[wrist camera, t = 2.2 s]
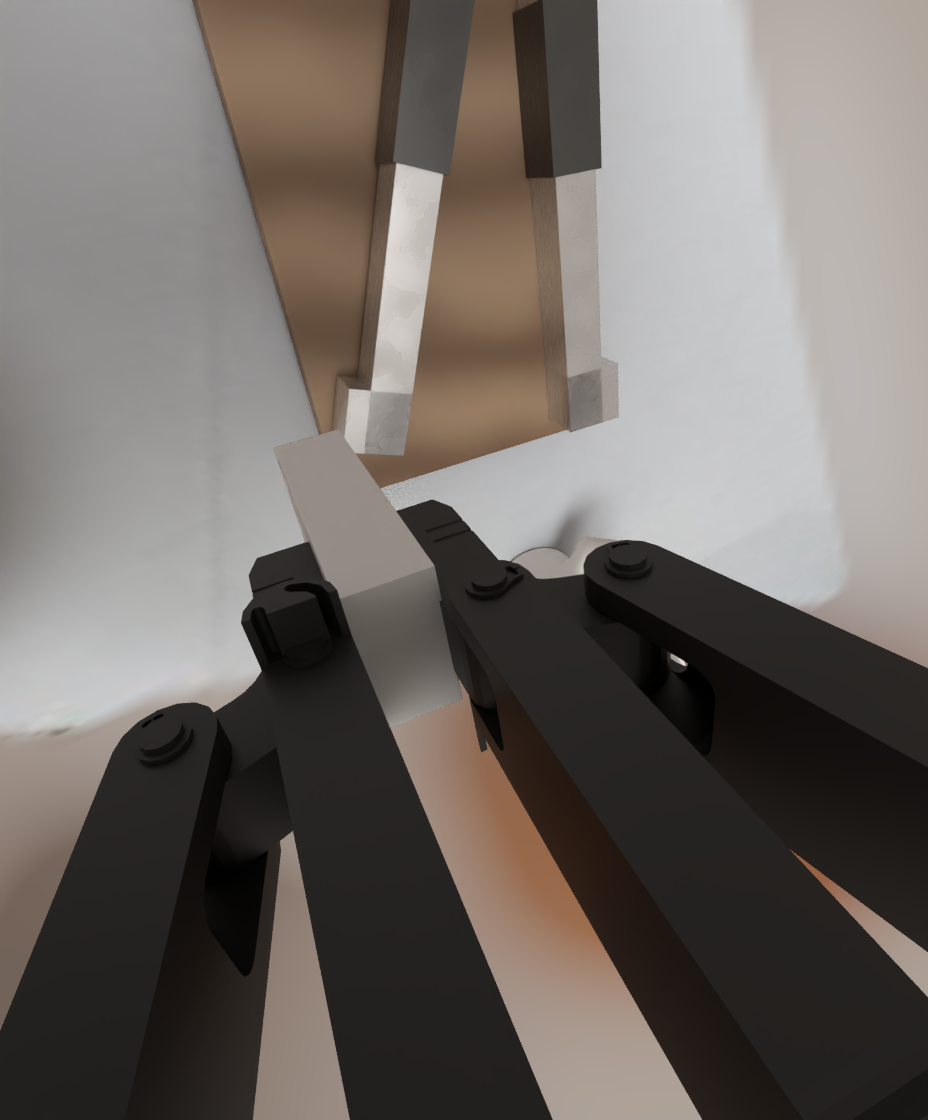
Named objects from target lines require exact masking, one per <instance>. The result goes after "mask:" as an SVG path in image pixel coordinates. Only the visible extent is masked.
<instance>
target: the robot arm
mask: <svg viewBox="0 0 928 1120" xmlns="http://www.w3.org/2000/svg"><path fill="white" fill-rule="evenodd" d="M274 451H275V454H276V457H277V460H278V463H279V466H280V469H281V472H282V475H283V478H284V481H285V484H286V487H287V489H288V492H289V495H290V498H291V501H292V504H293V507H294V510H295V513H296V516H297V519H298V522H299V525H300V528H301V531H302V534H303V537H304V540H305V543H303V544H300V545H296V546H293V547H290V548H287V549H284V550H281V551H278V552H275V553H272V554H269V555H266V556H262V557H259V558H257V559H256V561H255V563H254V565H253V568H252V570H251V572H250V574H249V579H250V584H251V589H252V593H253V599H252V600H251V602H250V603H249V604H248V606H247V607H246V608H245V610H244V611H243V615H242V620H241V624H242V626H243V628H244V631H245V633H246V635H247V638H248V640H249V642H250V644H251V647H252V649H253V651H254V653H255V656H256V658H257V660H258V663H259V665H260V667H261V670H262V672H261V673H260V675H259V676H258V678H257V679H256V681H255V682H254V683H253V684H252V685H251V686H250V687H249V688H248V689H247V690H246V691H245V692H244V693H243V694H241V695H240V696H239V697H237V698H236V699H234V700H233V701H232V702H230V703H228V704H227V705H225V706H223V707H222V708H220V709H219V710H217V711H216V712H213V711H212V710H211V709H210V708H209V707H208V706H205V705H201V704H198V703H181V704H175V705H172V706H169V707H166V708H163V709H160V710H157V711H156V712H154V713H152V714H151V715H149V716H147V717H146V718H144V719H142V720H141V721H139V722H138V723H137V724H136V725H134V726H133V727H132V728H131V729H130V730H129V731H128V732H127V733H126V734H125V735H124V736H123V737H122V738H121V740H120V741H119V743H118V745H117V746H116V748H115V750H114V751H113V753H112V755H111V758H110V760H109V763H108V765H107V768H106V770H105V773H104V775H103V778H102V780H101V783H100V785H99V787H98V790H97V793H96V795H95V797H94V800H93V802H92V805H91V807H90V810H89V812H88V815H87V817H86V820H85V822H84V825H83V827H82V830H81V832H80V835H79V837H78V839H77V842H76V845H75V847H74V850H73V852H72V854H71V857H70V859H69V862H68V864H67V867H66V869H65V872H64V874H63V877H62V879H61V882H60V884H59V887H58V889H57V892H56V894H55V897H54V899H53V901H52V904H51V906H50V909H49V911H48V914H47V916H46V919H45V921H44V924H43V926H42V929H41V932H40V934H39V936H38V939H37V941H36V944H35V946H34V948H33V951H32V954H31V956H30V958H29V961H28V963H27V966H26V968H25V971H24V974H23V976H22V978H21V981H20V983H19V986H18V988H17V991H16V993H15V996H14V998H13V1001H12V1003H11V1006H10V1008H9V1010H8V1013H7V1015H6V1018H5V1020H4V1023H3V1025H2V1028H1V1030H0V1120H253V1111H254V1103H255V1093H256V1084H257V1074H258V1065H259V1055H260V1046H261V1036H262V1025H263V1017H264V1007H265V998H266V988H267V979H268V969H269V960H270V950H271V941H272V931H273V922H274V912H275V903H276V893H277V883H278V873H279V864H280V854H281V847H280V840H282V839H283V838H284V837H285V836H287V835H288V834H289V833H291V832H292V831H293V833H294V837H295V843H296V848H297V853H298V858H299V863H300V868H301V873H302V878H303V884H304V888H305V894H306V899H307V904H308V909H309V914H310V919H311V924H312V929H313V934H314V939H315V945H316V950H317V955H318V960H319V965H320V970H321V975H322V980H323V985H324V990H325V995H326V1000H327V1005H328V1010H329V1016H330V1021H331V1026H332V1031H333V1036H334V1040H335V1046H336V1051H337V1056H338V1061H339V1066H340V1071H341V1076H342V1082H343V1087H344V1092H345V1097H346V1102H347V1107H348V1112H349V1117H350V1120H552V1117H551V1115H550V1112H549V1110H548V1108H547V1105H546V1103H545V1100H544V1098H543V1095H542V1093H541V1090H540V1088H539V1086H538V1083H537V1081H536V1078H535V1076H534V1074H533V1071H532V1069H531V1066H530V1064H529V1062H528V1059H527V1057H526V1054H525V1052H524V1049H523V1047H522V1045H521V1042H520V1040H519V1038H518V1035H517V1033H516V1030H515V1028H514V1025H513V1023H512V1021H511V1018H510V1016H509V1013H508V1011H507V1008H506V1006H505V1004H504V1001H503V999H502V997H501V994H500V992H499V989H498V987H497V984H496V982H495V980H494V977H493V975H492V972H491V970H490V967H489V965H488V963H487V960H486V958H485V955H484V953H483V951H482V948H481V946H480V943H479V941H478V939H477V936H476V934H475V931H474V929H473V927H472V924H471V922H470V919H469V917H468V914H467V912H466V910H465V907H464V905H463V902H462V900H461V898H460V895H459V893H458V890H457V888H456V885H455V883H454V881H453V878H452V876H451V873H450V871H449V869H448V866H447V864H446V861H445V859H444V857H443V854H442V852H441V849H440V847H439V844H438V842H437V840H436V837H435V835H434V832H433V830H432V828H431V825H430V823H429V820H428V818H427V816H426V813H425V811H424V808H423V806H422V803H421V802H420V799H419V796H418V794H417V792H416V789H415V787H414V784H413V782H412V779H411V777H410V775H409V772H408V770H407V767H406V765H405V763H404V760H403V758H402V755H401V753H400V750H399V748H398V746H397V743H396V741H395V739H394V736H393V734H392V731H391V729H390V728H392V727H395V726H397V725H400V724H402V723H405V722H407V721H410V720H412V719H414V718H417V717H419V716H422V715H424V714H427V713H429V712H432V711H434V710H436V709H439V708H442V707H444V706H447V705H449V704H452V703H454V702H456V701H459V700H461V699H463V697H462V692H461V688H460V683H459V679H460V681H461V683H462V684H463V686H464V688H465V689H466V691H467V693H468V694H469V698H470V703H471V707H472V713H473V717H474V722H475V727H476V732H477V737H478V741H479V745H480V749H481V752H482V751H485V750H487V745H486V741H487V743H488V744H489V746H490V748H491V750H492V752H493V753H494V755H495V757H496V759H497V760H498V762H499V764H500V765H501V767H502V769H503V771H504V772H505V774H506V776H507V778H508V780H509V781H510V783H511V785H512V787H513V788H514V790H515V792H516V794H517V795H518V797H519V799H520V801H521V802H522V804H523V806H524V808H525V809H526V811H527V813H528V814H529V816H530V818H531V820H532V822H533V823H534V825H535V827H536V829H537V831H538V832H539V834H540V836H541V837H542V839H543V841H544V843H545V844H546V846H547V848H548V850H549V851H550V853H551V855H552V857H553V859H554V860H555V862H556V864H557V866H558V867H559V869H560V871H561V873H562V874H563V876H564V878H565V880H566V881H567V883H568V885H569V887H570V888H571V890H572V892H573V894H574V895H575V897H576V899H577V901H578V902H579V904H580V906H581V908H582V909H583V911H584V913H585V915H586V916H587V918H588V920H589V922H590V923H591V925H592V927H593V929H594V931H595V932H596V934H597V936H598V938H599V939H600V941H601V943H602V944H603V946H604V948H605V950H606V951H607V953H608V955H609V957H610V959H611V960H612V962H613V964H614V966H615V967H616V969H617V971H618V973H619V974H620V976H621V978H622V980H623V981H624V983H625V985H626V987H627V988H628V990H629V992H630V994H631V995H632V997H633V999H634V1001H635V1002H636V1004H637V1006H638V1008H639V1009H640V1011H641V1013H642V1015H643V1016H644V1018H645V1020H646V1021H647V1024H648V1025H649V1027H650V1029H651V1030H652V1032H653V1034H654V1036H655V1037H656V1039H657V1041H658V1043H659V1044H660V1046H661V1048H662V1050H663V1052H664V1053H665V1055H666V1057H667V1059H668V1060H669V1062H670V1064H671V1065H672V1067H673V1069H674V1071H675V1073H676V1074H677V1076H678V1078H679V1080H680V1081H681V1083H682V1085H683V1087H684V1088H685V1090H686V1092H687V1094H688V1095H689V1097H690V1099H691V1101H692V1102H693V1104H694V1106H695V1108H696V1109H697V1111H698V1113H699V1115H700V1116H701V1118H702V1120H928V997H927V996H926V995H925V994H924V993H923V992H922V991H921V989H920V988H919V987H918V986H917V985H916V984H915V983H914V982H913V981H912V980H911V979H910V978H909V977H908V976H907V975H906V973H905V972H904V971H903V970H902V969H901V968H900V967H899V966H898V965H897V964H896V963H895V962H894V961H893V960H892V958H890V956H889V955H888V954H887V953H886V952H885V951H884V950H883V949H882V948H881V947H880V946H879V945H878V943H876V941H875V940H874V939H873V938H872V937H871V936H870V935H869V934H868V933H867V932H866V931H865V930H864V929H863V927H862V926H861V925H860V924H859V923H858V922H857V921H856V920H855V919H854V918H853V917H852V916H851V915H850V914H849V913H848V911H847V910H846V909H845V908H844V907H843V906H842V905H841V904H840V903H839V902H838V901H837V900H836V899H835V897H834V896H833V895H832V894H831V893H830V892H829V891H828V890H827V889H826V888H825V887H824V886H823V885H822V884H821V883H820V882H819V880H818V879H817V878H816V877H815V876H814V875H813V874H812V873H811V872H810V871H809V870H808V869H807V868H806V867H805V865H804V864H803V863H802V862H801V861H800V860H799V859H798V858H797V857H796V856H795V855H794V854H793V853H792V851H793V852H794V853H796V854H797V855H798V856H800V857H801V858H802V859H804V860H805V861H806V862H808V863H809V864H811V865H812V866H813V867H814V868H816V869H817V870H818V871H820V872H821V873H822V874H824V875H825V876H826V877H828V878H829V879H830V880H832V881H833V882H835V883H836V884H837V885H839V886H840V887H841V888H843V889H844V890H845V891H847V892H848V893H849V894H851V895H852V896H853V897H855V898H856V899H857V900H859V901H860V902H861V903H863V904H864V905H865V906H867V907H868V908H869V909H871V910H872V911H873V912H875V913H876V914H877V915H879V916H880V917H881V918H883V919H884V920H885V921H887V922H888V923H889V924H891V925H892V926H894V927H895V928H896V929H897V930H899V931H900V932H901V933H903V934H904V935H906V936H907V937H908V938H910V939H911V940H912V941H914V942H915V943H916V944H918V945H919V946H920V947H922V948H923V949H924V950H926V951H927V952H928V668H926V667H924V666H922V665H919V664H917V663H915V662H913V661H911V660H908V659H906V658H904V657H902V656H900V655H897V654H895V653H893V652H891V651H889V650H886V649H884V648H882V647H880V646H878V645H875V644H873V643H871V642H869V641H866V640H864V639H862V638H860V637H858V636H856V635H853V634H851V633H849V632H847V631H845V630H842V629H840V628H838V627H835V626H834V625H831V624H829V623H827V622H825V621H822V620H820V619H818V618H816V617H814V616H812V615H809V614H807V613H805V612H803V611H801V610H798V609H796V608H794V607H792V606H790V605H787V604H785V603H783V602H781V601H778V600H776V599H774V598H772V597H770V596H767V595H765V594H763V593H761V592H759V591H756V590H754V589H752V588H750V587H748V586H745V585H743V584H741V583H739V582H737V581H734V580H732V579H730V578H728V577H726V576H723V575H721V574H719V573H717V572H715V571H712V570H710V569H708V568H706V567H704V566H701V565H699V564H697V563H695V562H693V561H690V560H688V559H686V558H684V557H682V556H679V555H677V554H675V553H673V552H671V551H668V550H666V549H664V548H662V547H660V546H657V545H654V544H650V543H647V542H644V541H632V540H622V541H616V542H610V543H607V544H605V545H602V546H600V547H597V548H595V549H594V550H593V551H592V552H591V553H589V554H588V555H587V556H586V559H585V562H584V564H583V569H584V574H581V575H574V576H567V577H560V578H549V579H538V578H535V577H534V575H533V574H532V573H531V572H530V571H529V570H527V569H526V568H524V567H523V566H521V565H520V564H518V563H514V562H510V561H506V560H498V559H497V558H496V557H495V556H494V554H493V553H492V552H491V551H490V550H489V549H488V548H487V547H486V545H485V544H484V543H483V542H482V541H481V540H480V539H479V537H478V536H477V535H476V534H475V533H474V532H473V531H471V529H470V527H469V526H468V525H467V524H466V523H465V522H464V521H462V518H461V517H460V516H459V515H458V514H457V513H456V512H455V510H454V509H453V508H452V507H451V506H448V505H445V504H443V503H440V502H438V501H435V500H429V501H426V502H423V503H420V504H417V505H414V506H411V507H408V508H405V509H402V510H398V511H396V510H395V509H394V508H393V506H392V505H391V503H390V502H389V500H388V499H387V498H386V496H385V495H384V493H383V492H382V491H381V489H380V488H379V486H378V485H377V483H376V482H375V481H374V479H373V478H372V476H371V475H370V473H369V472H368V471H367V469H366V468H365V466H364V465H363V463H362V462H361V461H360V459H359V458H358V456H357V455H356V454H355V452H354V451H353V449H352V448H351V446H350V445H349V444H348V442H347V441H346V439H345V438H344V436H343V435H342V434H341V432H340V431H339V429H338V430H334V431H331V432H327V433H324V434H320V435H317V436H313V437H310V438H306V439H303V440H299V441H296V442H292V443H289V444H285V445H282V446H278V447H275V448H274ZM671 654H673V655H675V656H676V657H678V658H680V659H681V660H683V661H685V662H686V663H688V666H684V665H682V664H679V663H677V662H676V661H674V660H672V659H671ZM485 739H486V740H485ZM790 850H792V851H790Z"/></svg>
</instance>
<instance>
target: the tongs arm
mask: <svg viewBox="0 0 928 1120" xmlns="http://www.w3.org/2000/svg"><path fill="white" fill-rule="evenodd" d="M474 2H475V0H391V6H390V16H389V26H388V36H387V46H386V56H385V66H384V77H383V87H382V97H381V107H380V117H379V127H378V137H377V147H376V157H375V164H379V174H378V184H377V193H376V203H375V213H374V223H373V233H372V243H371V252H370V262H369V272H368V282H367V292H366V301H365V311H364V321H363V331H362V341H361V351H360V360H359V370H358V377H348V376H337V385H336V397H335V408H334V419H333V431H334V430H338V429H339V431H340V432H341V434H342V435H343V436H344V438H345V439H346V441H347V442H348V444H349V445H350V446H351V448H352V449H353V451H354V452H355V453H361V454H382V455H404V451H405V444H406V437H407V430H408V423H409V415H410V408H411V401H412V394H413V387H414V380H415V373H416V365H417V358H418V351H419V344H420V337H421V330H422V323H423V316H424V308H425V301H426V294H427V287H428V280H429V273H430V266H431V258H432V251H433V244H434V237H435V230H436V223H437V216H438V209H439V201H440V194H441V187H442V180H443V176H446V175H450V169H451V162H452V155H453V148H454V141H455V134H456V127H457V120H458V113H459V106H460V99H461V93H462V86H463V79H464V72H465V65H466V58H467V51H468V44H469V37H470V30H471V23H472V16H473V9H474Z"/></svg>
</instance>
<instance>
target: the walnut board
mask: <svg viewBox="0 0 928 1120" xmlns="http://www.w3.org/2000/svg"><path fill="white" fill-rule="evenodd" d="M193 3H194V7H195V10H196V14H197V17H198V21H199V24H200V27H201V31H202V34H203V38H204V41H205V45H206V48H207V51H208V55H209V58H210V62H211V65H212V69H213V72H214V75H215V79H216V82H217V86H218V89H219V92H220V96H221V99H222V103H223V106H224V110H225V113H226V116H227V120H228V123H229V127H230V130H231V134H232V137H233V140H234V144H235V147H236V151H237V154H238V158H239V161H240V164H241V168H242V171H243V175H244V178H245V181H246V185H247V188H248V192H249V195H250V199H251V202H252V205H253V209H254V212H255V216H256V219H257V223H258V226H259V229H260V233H261V236H262V240H263V243H264V247H265V250H266V253H267V257H268V260H269V264H270V267H271V270H272V274H273V277H274V281H275V284H276V288H277V291H278V294H279V298H280V301H281V305H282V308H283V312H284V315H285V318H286V322H287V325H288V329H289V332H290V336H291V339H292V342H293V346H294V349H295V353H296V356H297V359H298V363H299V366H300V370H301V373H302V377H303V380H304V383H305V387H306V390H307V394H308V397H309V401H310V404H311V407H312V411H313V414H314V418H315V421H316V425H317V428H318V431H319V435H320V434H324V433H327V432H331V431H333V419H334V408H335V397H336V385H337V376H348V377H358V370H359V360H360V351H361V341H362V331H363V321H364V311H365V301H366V292H367V282H368V272H369V262H370V252H371V243H372V233H373V223H374V213H375V203H376V193H377V184H378V174H379V164H375V157H376V147H377V137H378V127H379V117H380V107H381V97H382V87H383V77H384V66H385V56H386V46H387V36H388V26H389V16H390V6H391V0H193ZM515 11H516V1H515V0H475V2H474V9H473V16H472V23H471V30H470V37H469V44H468V51H467V58H466V65H465V72H464V79H463V86H462V93H461V99H460V106H459V113H458V120H457V127H456V134H455V141H454V148H453V155H452V162H451V169H450V175H446V176H443V180H442V187H441V194H440V201H439V209H438V216H437V223H436V230H435V237H434V244H433V251H432V258H431V266H430V273H429V280H428V287H427V294H426V301H425V308H424V316H423V323H422V330H421V337H420V344H419V351H418V358H417V365H416V373H415V380H414V387H413V394H412V401H411V408H410V415H409V423H408V430H407V437H406V444H405V451H404V455H382V454H361V453H355V454H356V455H357V456H358V458H359V459H360V461H361V462H362V463H363V465H364V466H365V468H366V469H367V471H368V472H369V473H370V475H371V476H372V478H373V479H374V481H375V482H376V483H377V485H378V486H379V488H382V487H385V486H388V485H392V484H395V483H398V482H401V481H404V480H408V479H411V478H414V477H417V476H420V475H424V474H427V473H430V472H433V471H436V470H439V469H443V468H446V467H449V466H452V465H455V464H459V463H462V462H465V461H468V460H471V459H475V458H478V457H481V456H484V455H487V454H491V453H494V452H497V451H500V450H503V449H506V448H510V447H513V446H516V445H519V444H522V443H526V442H529V441H532V440H535V439H538V438H542V437H545V436H548V435H551V434H554V433H558V432H561V431H564V430H567V429H565V428H563V427H562V426H560V425H559V424H557V423H555V422H554V421H552V420H550V419H549V414H548V402H547V389H546V377H545V364H544V352H543V339H542V327H541V314H540V302H539V289H538V276H537V264H536V251H535V239H534V226H533V214H532V201H531V189H530V178H526V175H525V163H524V150H523V138H522V126H521V114H520V102H519V90H518V78H517V66H516V54H515V42H514V30H513V17H512V13H513V12H515Z"/></svg>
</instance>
